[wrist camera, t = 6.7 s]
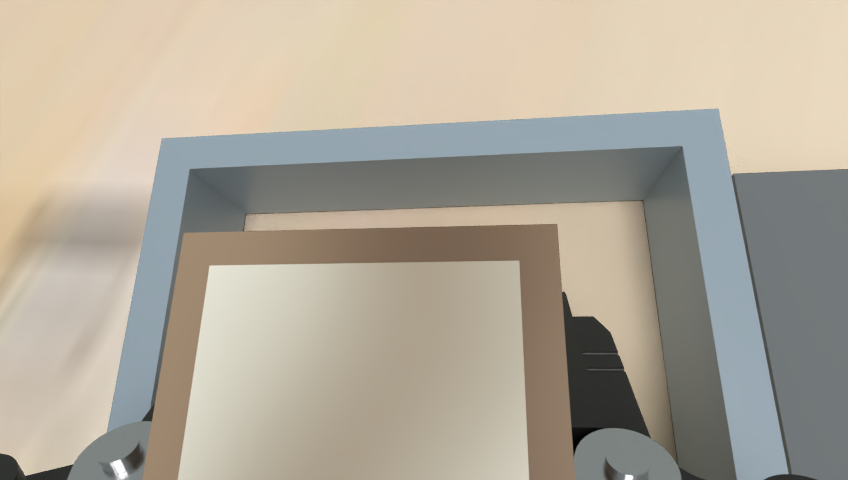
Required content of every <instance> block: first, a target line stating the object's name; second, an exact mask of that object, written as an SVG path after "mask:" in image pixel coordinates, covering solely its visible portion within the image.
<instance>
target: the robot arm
mask: <svg viewBox="0 0 848 480" xmlns="http://www.w3.org/2000/svg"><path fill="white" fill-rule="evenodd" d="M562 300H563V314H564V329H565V343H566V357H567V371H568V385H569V399H570V414H571V428H572V442H573V456H574V470H575V480H705V479H702V478H699V477H697V476H695V475H692V474H690V473H688V472H686V471H685V470H683V469H681V468H679V467H678V465H677V464H676V462H675V460H674V459H673V457H672V456H671V455H670V453H669V452H668V451H667V450H666V449H665V448H664V447H662V446H661V445H660V444H659V443H657V442H656V441H654V440H652V439H651V437H650V435H649V433H648V430H647V427H646V425H645V422H644V419H643V417H642V414H641V412H640V409H639V406H638V404H637V401H636V398H635V396H634V393H633V391H632V388H631V385H630V383H629V380H628V377H627V375H626V372H624V367H623V364H622V362H621V359H620V356H618V351H617V349H616V346H615V343H614V341H613V338H612V335H611V333H610V332H609V331H608V330H607V329H606V328H605V327H604V326H603V325H602V324H601V323H600V322H599V321H598V320H596V319H595V318H594V317H572V314H571V310H570V307H569V303H568V300H567V296H566V294H565V292H562ZM154 406H155V403H154V405H153V406H152V407H151V409H150V410H149V411H148V413H147V414H146V415H145V417H144V418H143V419H142V421H141V422H134V423H130V424H126V425H123V426H121V427H118V428H116V429H113V430H111V431H109V432H107V433H106V434H104V435H102V436H101V437H99V438H98V439H97V440H95V441H94V442H92V443H91V444H90V445H89V446H88V447H87V448H86V449H85V450H84V451H83V452H82V453H81V454H80V455H79V457H78V458H77V460H76V461H75V463H74V465H69V466H65V467H61V468H57V469H53V470H49V471H44V472H40V473H36V474H32V475H28V476H25V475H24V473H23V471H22V470H21V468H20V466H19V465H18V463H17V461H16V460H15V459H14V458H13V457H11V456H9V455H5V454H0V480H142V477H143V471H144V466H145V460H146V454H147V448H148V442H149V436H150V430H151V424H152V418H153V412H154ZM764 480H817V479H814V478H810V477H806V476H801V475H795V474H780V475H774V476H771V477H768V478H766V479H764Z"/></svg>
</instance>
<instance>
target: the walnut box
mask: <svg viewBox="0 0 848 480" xmlns="http://www.w3.org/2000/svg"><path fill="white" fill-rule="evenodd" d="M142 480H575V470H574V456H573V442H572V428H571V414H570V399H569V385H568V371H567V357H566V343H565V329H564V314H563V300H562V286H561V272H560V258H559V243H558V229H557V224H539V225H496V226H453V227H411V228H368V229H325V230H282V231H240V232H197V233H184V234H183V240H182V246H181V252H180V258H179V264H178V270H177V276H176V282H175V287H174V293H173V299H172V305H171V311H170V317H169V323H168V329H167V335H166V341H165V347H164V353H163V359H162V365H161V371H160V376H159V382H158V388H157V394H156V400H155V406H154V412H153V418H152V424H151V430H150V436H149V442H148V448H147V454H146V460H145V466H144V471H143V477H142Z"/></svg>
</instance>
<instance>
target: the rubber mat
mask: <svg viewBox="0 0 848 480" xmlns="http://www.w3.org/2000/svg"><path fill="white" fill-rule="evenodd" d="M731 177H732V182H733V187H734V193H735V198H736V203H737V208H738V213H739V219H740V224H741V229H742V234H743V239H744V245H745V250H746V255H747V260H748V265H749V271H750V276H751V281H752V286H753V291H754V297H755V302H756V307H757V312H758V317H759V323H760V328H761V333H762V338H763V343H764V349H765V354H766V359H767V364H768V369H769V375H770V380H771V385H772V390H773V395H774V401H775V406H776V411H777V416H778V421H779V427H780V432H781V437H782V442H783V447H784V453H785V458H786V463H787V468H788V473H789V474H795V475H801V476H806V477H810V478H814V479H817V480H848V169H838V170H813V171H789V172H764V173H739V174H733V175H732V176H731Z"/></svg>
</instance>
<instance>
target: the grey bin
mask: <svg viewBox="0 0 848 480" xmlns="http://www.w3.org/2000/svg"><path fill="white" fill-rule="evenodd" d="M629 200H643V203H644V211H645V218H646V226H647V233H648V241H649V248H650V256H651V264H652V271H653V279H654V286H655V294H656V301H657V309H658V317H659V324H660V332H661V339H662V347H663V354H664V362H665V370H666V377H667V385H668V392H669V400H670V407H671V415H672V423H673V430H674V438H675V445H676V453H677V460H678V467H679V468H681V469H683V470H685V471H686V472H688V473H690V474H692V475H695V476H697V477H699V478H702V479H705V480H764V479H766V478H768V477H771V476H774V475H780V474H789V473H788V468H787V463H786V458H785V453H784V447H783V442H782V437H781V432H780V427H779V421H778V416H777V411H776V406H775V401H774V395H773V390H772V385H771V380H770V375H769V369H768V364H767V359H766V354H765V349H764V343H763V338H762V333H761V328H760V323H759V317H758V312H757V307H756V302H755V297H754V291H753V286H752V281H751V276H750V271H749V265H748V260H747V255H746V250H745V245H744V239H743V234H742V229H741V224H740V219H739V213H738V208H737V203H736V198H735V193H734V187H733V182H732V177H731V172H730V167H729V161H728V156H727V151H726V146H725V141H724V135H723V130H722V125H721V120H720V115H719V109H702V110H683V111H665V112H646V113H627V114H609V115H590V116H572V117H553V118H534V119H516V120H497V121H479V122H460V123H441V124H423V125H404V126H386V127H367V128H349V129H330V130H311V131H293V132H274V133H256V134H237V135H218V136H200V137H181V138H163V139H162V141H161V146H160V151H159V157H158V162H157V167H156V173H155V178H154V183H153V189H152V194H151V199H150V205H149V210H148V215H147V221H146V226H145V232H144V237H143V242H142V248H141V253H140V258H139V264H138V269H137V274H136V280H135V285H134V290H133V296H132V301H131V306H130V312H129V317H128V322H127V328H126V333H125V339H124V344H123V349H122V355H121V360H120V365H119V371H118V376H117V381H116V387H115V392H114V397H113V403H112V408H111V413H110V419H109V424H108V429H107V432H109V431H111V430H113V429H116V428H118V427H121V426H123V425H126V424H130V423H134V422H141V421H142V419H143V418H144V417H145V415H146V414H147V413H148V411H149V410H150V409H151V407H152V406H153V405H154V403H155V400H156V394H157V388H158V382H159V376H160V371H161V365H162V359H163V353H164V347H165V341H166V335H167V329H168V323H169V317H170V311H171V305H172V299H173V293H174V287H175V282H176V276H177V270H178V264H179V258H180V252H181V246H182V240H183V234H184V233H197V232H240V231H243V229H244V221H245V214H262V213H290V212H318V211H347V210H375V209H403V208H431V207H460V206H488V205H516V204H544V203H573V202H601V201H629Z"/></svg>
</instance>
